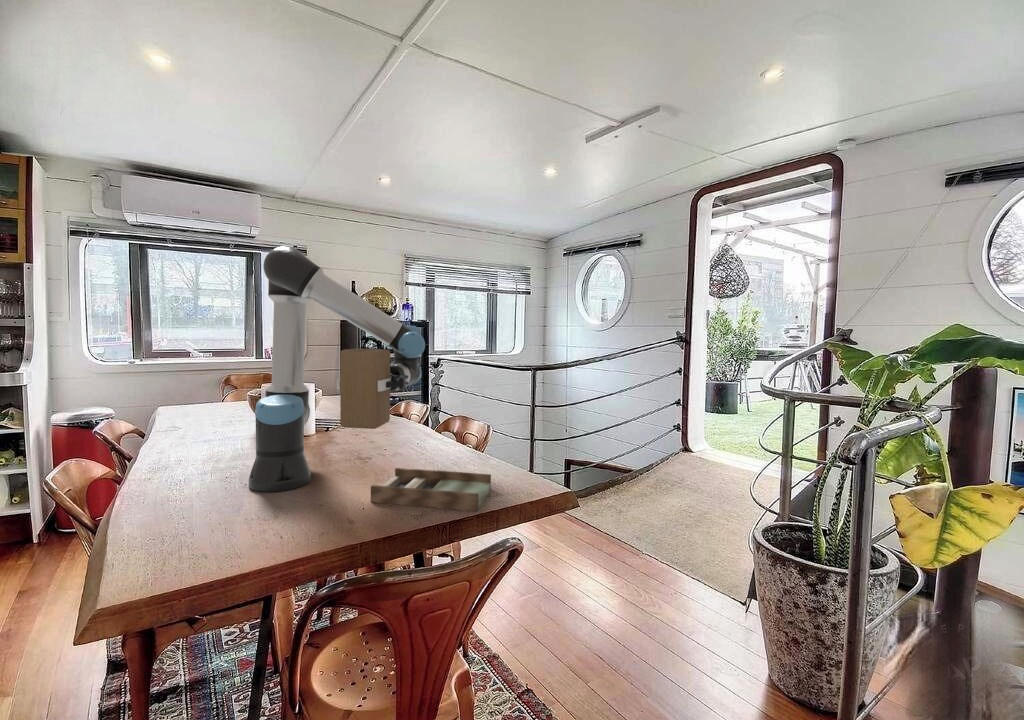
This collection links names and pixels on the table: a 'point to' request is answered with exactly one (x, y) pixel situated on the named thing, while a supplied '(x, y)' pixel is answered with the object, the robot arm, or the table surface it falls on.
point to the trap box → (434, 489)
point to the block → (364, 388)
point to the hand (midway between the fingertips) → (358, 385)
